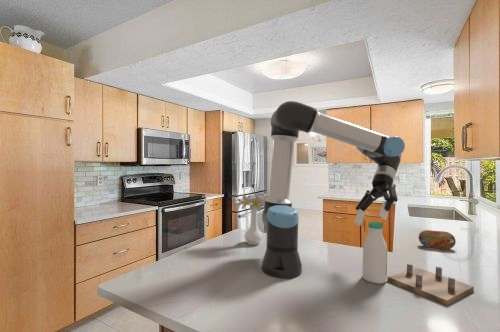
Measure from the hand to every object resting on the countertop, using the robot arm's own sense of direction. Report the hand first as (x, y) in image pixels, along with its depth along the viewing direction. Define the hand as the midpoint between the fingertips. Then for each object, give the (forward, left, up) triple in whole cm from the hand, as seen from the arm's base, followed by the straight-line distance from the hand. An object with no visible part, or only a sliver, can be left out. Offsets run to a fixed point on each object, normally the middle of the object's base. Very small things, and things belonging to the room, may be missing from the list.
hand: (369, 221), depth 101 cm
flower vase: (-49, -22, -19) cm, 57 cm away
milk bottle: (+6, -5, -19) cm, 21 cm away
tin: (-2, +56, -19) cm, 59 cm away
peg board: (+18, +7, -19) cm, 27 cm away
